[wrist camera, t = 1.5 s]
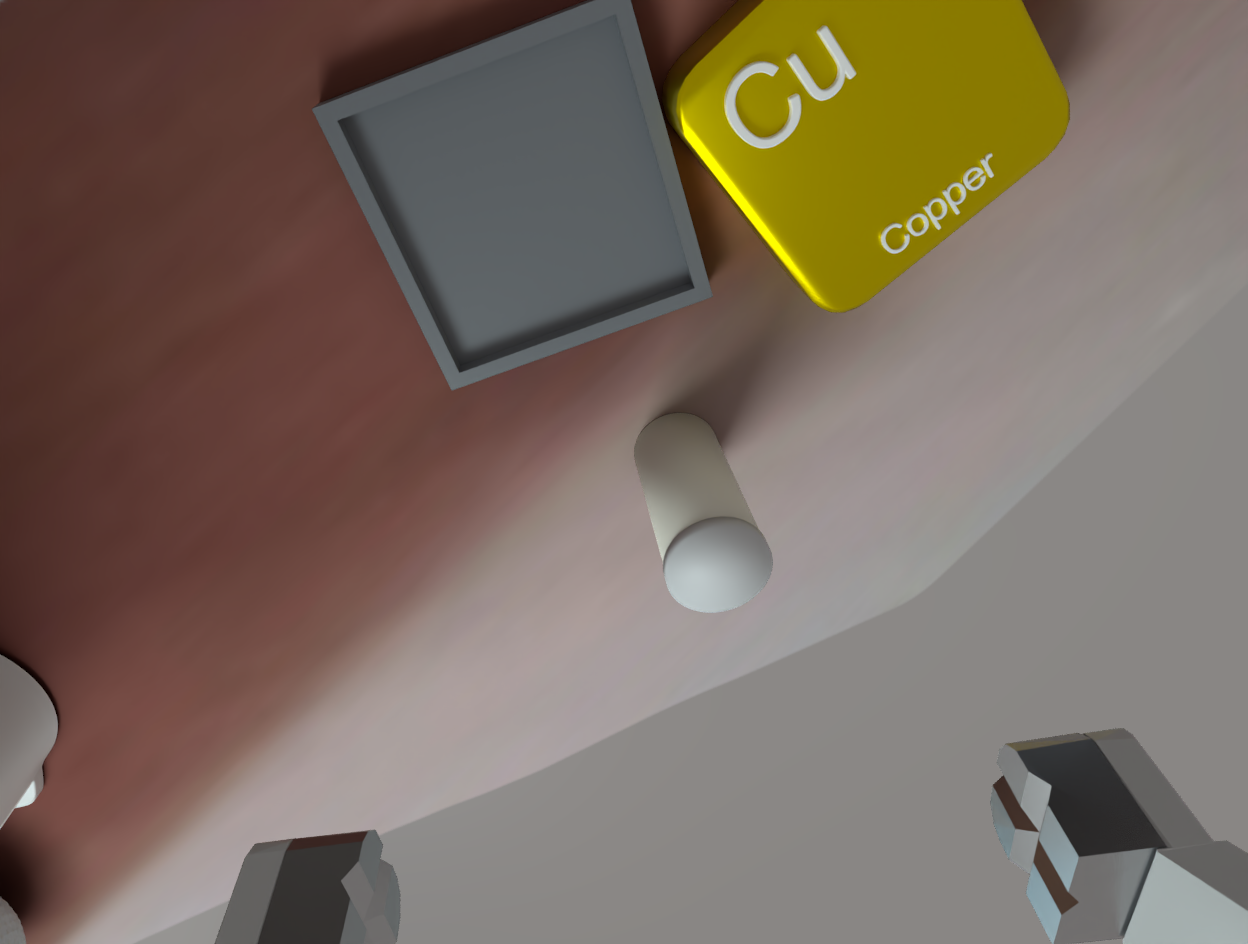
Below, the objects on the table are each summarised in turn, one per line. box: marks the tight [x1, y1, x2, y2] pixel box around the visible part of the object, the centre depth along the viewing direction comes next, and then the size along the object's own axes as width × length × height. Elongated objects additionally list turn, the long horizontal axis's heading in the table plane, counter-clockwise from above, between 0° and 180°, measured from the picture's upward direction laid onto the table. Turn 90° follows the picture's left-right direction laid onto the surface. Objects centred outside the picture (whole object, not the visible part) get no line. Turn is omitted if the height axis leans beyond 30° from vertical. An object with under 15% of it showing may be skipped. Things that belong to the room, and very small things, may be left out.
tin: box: [634, 413, 773, 613], centre depth 46 cm, size 5×5×12 cm
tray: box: [312, 0, 713, 390], centre depth 41 cm, size 15×15×2 cm
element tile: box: [662, 0, 1070, 312], centre depth 40 cm, size 15×15×5 cm
